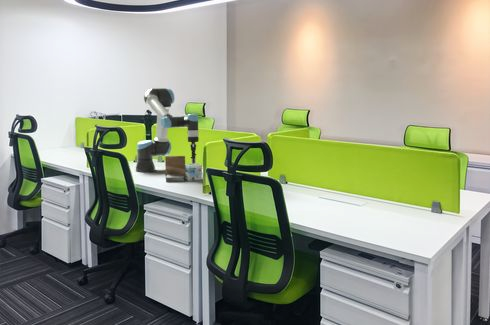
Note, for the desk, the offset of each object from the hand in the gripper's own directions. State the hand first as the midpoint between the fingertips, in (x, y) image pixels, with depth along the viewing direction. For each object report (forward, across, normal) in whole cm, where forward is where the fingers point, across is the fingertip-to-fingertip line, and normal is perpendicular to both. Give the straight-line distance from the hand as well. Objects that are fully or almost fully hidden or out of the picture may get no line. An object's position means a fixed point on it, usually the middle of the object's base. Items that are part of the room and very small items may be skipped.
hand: (193, 166), depth 310 cm
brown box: (+10, -1, -13) cm, 16 cm away
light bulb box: (+10, 0, 0) cm, 10 cm away
